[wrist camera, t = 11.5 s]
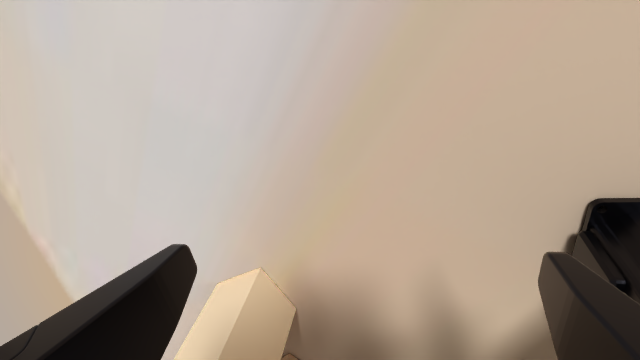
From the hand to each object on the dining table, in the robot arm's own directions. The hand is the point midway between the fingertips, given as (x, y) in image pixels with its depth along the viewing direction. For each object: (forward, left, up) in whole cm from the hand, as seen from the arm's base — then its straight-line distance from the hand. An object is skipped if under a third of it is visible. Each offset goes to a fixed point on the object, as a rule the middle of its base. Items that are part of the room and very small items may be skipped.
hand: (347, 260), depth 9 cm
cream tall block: (+11, +17, -13) cm, 24 cm away
